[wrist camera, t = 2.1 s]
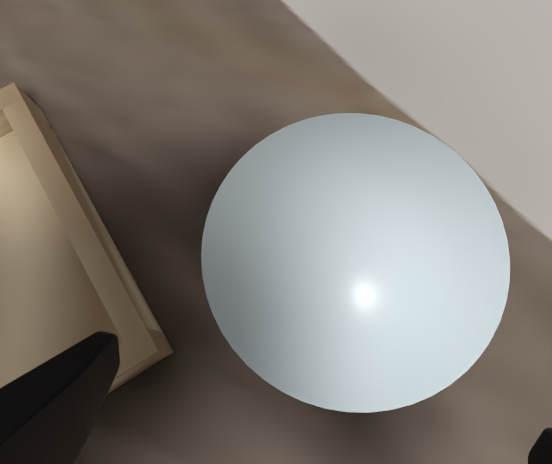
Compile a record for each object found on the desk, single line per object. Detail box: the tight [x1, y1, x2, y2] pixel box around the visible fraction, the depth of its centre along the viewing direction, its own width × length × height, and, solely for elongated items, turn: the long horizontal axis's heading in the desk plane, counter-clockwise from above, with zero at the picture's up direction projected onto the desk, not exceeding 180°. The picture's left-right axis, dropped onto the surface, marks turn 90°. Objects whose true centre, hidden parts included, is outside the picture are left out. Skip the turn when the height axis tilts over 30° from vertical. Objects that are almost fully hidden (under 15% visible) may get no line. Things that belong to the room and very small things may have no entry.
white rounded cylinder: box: [201, 113, 510, 413], centre depth 14 cm, size 5×5×12 cm
